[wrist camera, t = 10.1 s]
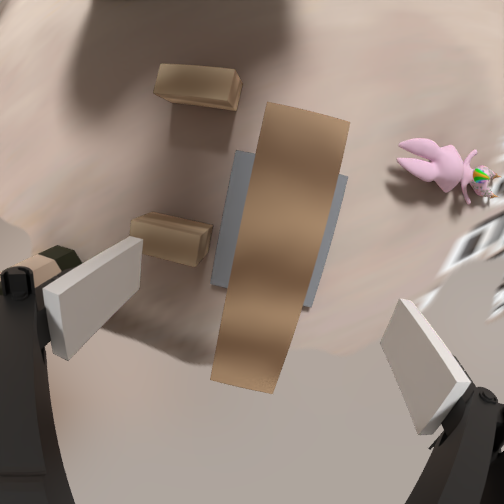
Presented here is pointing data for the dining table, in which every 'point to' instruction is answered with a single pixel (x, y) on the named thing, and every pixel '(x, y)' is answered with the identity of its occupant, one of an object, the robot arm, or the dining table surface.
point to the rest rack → (200, 94)
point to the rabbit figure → (446, 167)
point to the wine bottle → (49, 264)
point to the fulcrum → (234, 217)
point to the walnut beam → (277, 243)
